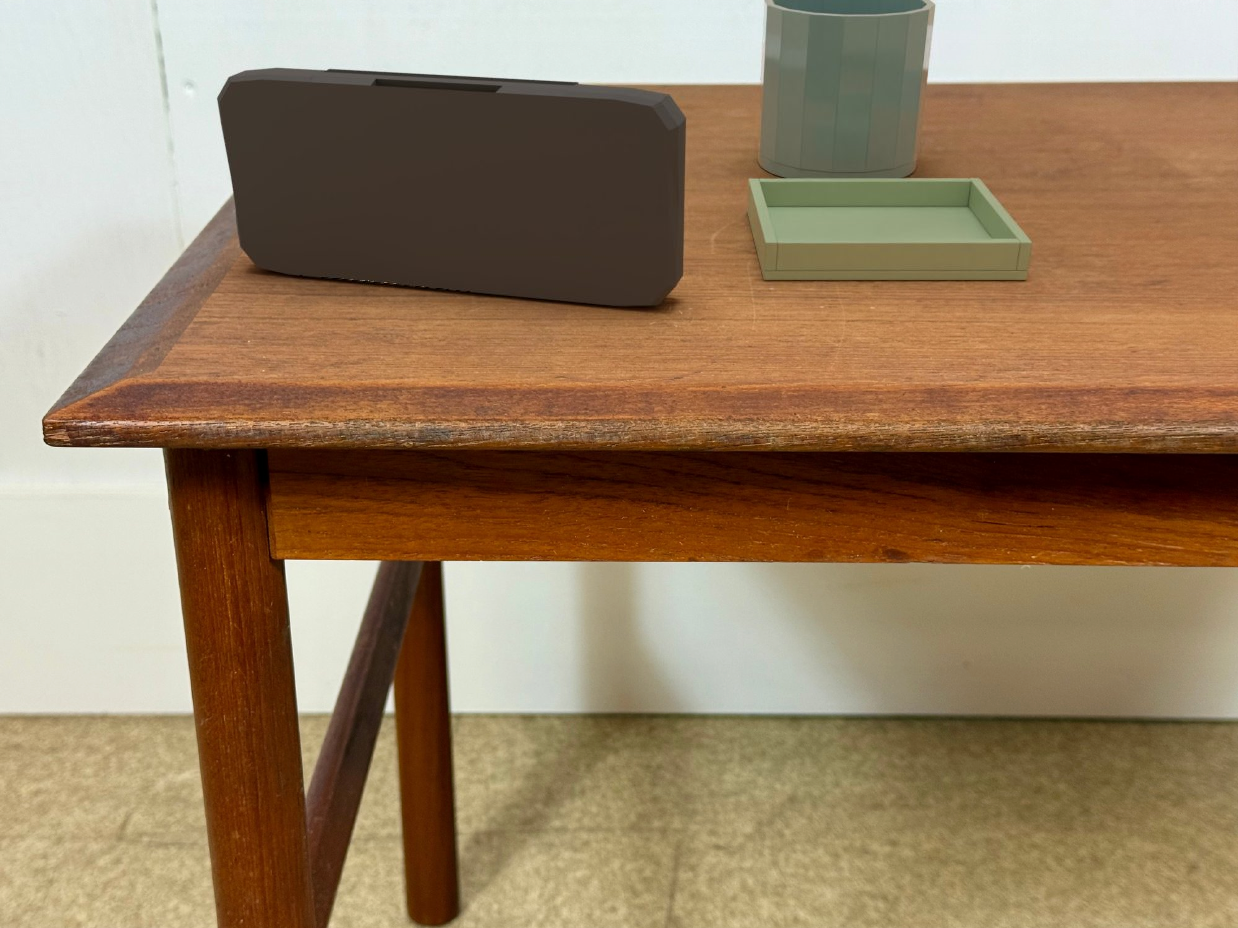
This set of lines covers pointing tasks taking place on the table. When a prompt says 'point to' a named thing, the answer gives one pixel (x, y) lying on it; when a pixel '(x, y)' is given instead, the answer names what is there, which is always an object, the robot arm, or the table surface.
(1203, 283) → the table surface
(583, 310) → the table surface
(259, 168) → the chamfered brown slab
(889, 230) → the tray
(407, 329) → the table surface
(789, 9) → the crock
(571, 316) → the table surface
